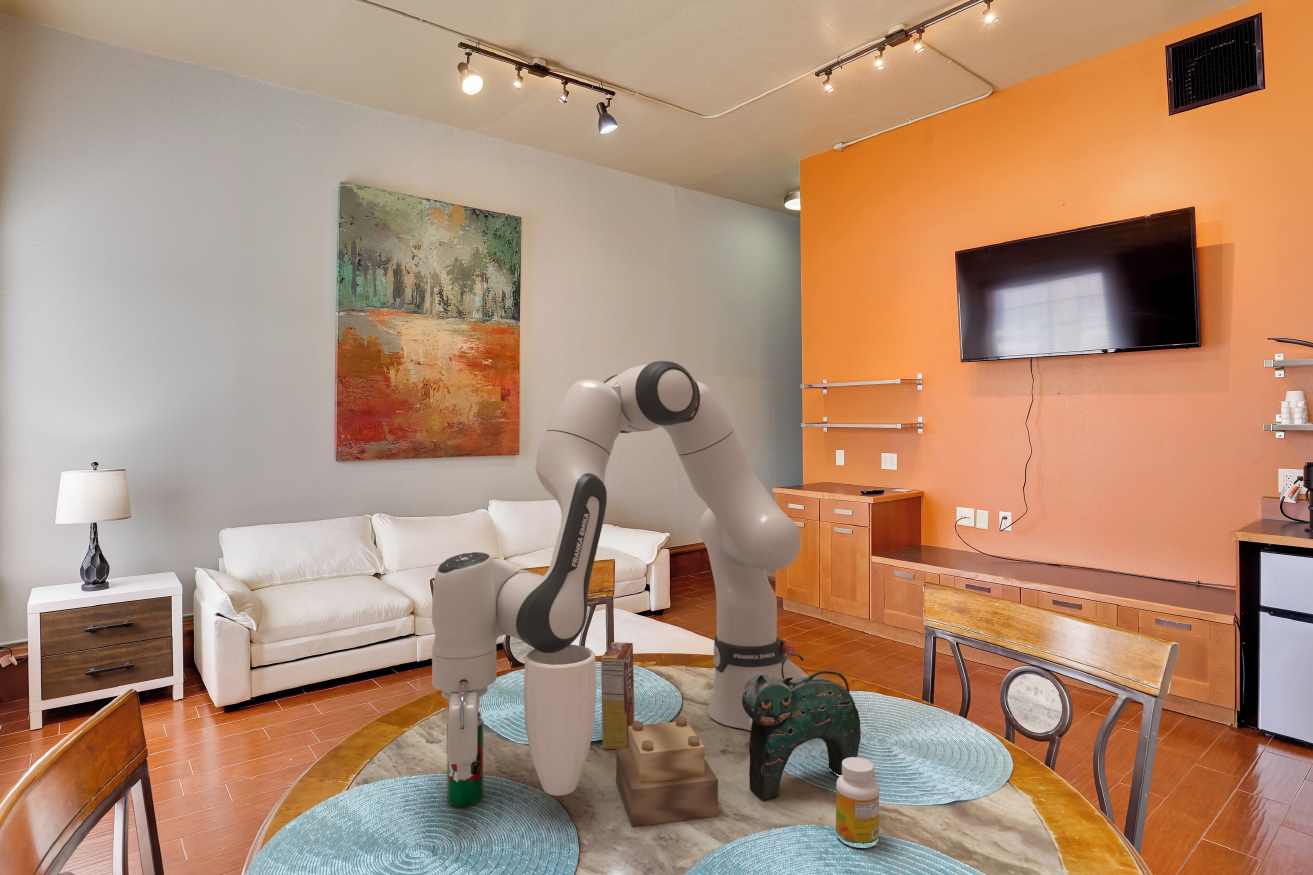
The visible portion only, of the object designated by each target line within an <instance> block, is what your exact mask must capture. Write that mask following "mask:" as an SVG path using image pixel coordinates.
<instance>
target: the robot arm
mask: <svg viewBox="0 0 1313 875" xmlns="http://www.w3.org/2000/svg"><path fill="white" fill-rule="evenodd" d="M657 428H663V429H664V430H665V431H666V433H667V434H668V435H669V437H670V439H671V441H672V443H673V446H674V449H675V451H676V454H677V456H678V458H679V460H680V462H681V464H682V467H683V468H684V471H685V473H686V475H687V477H688V479H689V482H690V484H691V487H692V489H693V490H694V492H695V494H696V495H697V496H698V497H699V498H700V499H701V500H702V501H703V502H704V503H705V504H706V505H707V507H708V508H707V509H706V510H705V511H704V513H703V514H702V515H701V518H700V520H699V527H698V528H699V535H700V537H701V540H702V541H703V543H704V545H705V548H706V550H707V554H708V559H709V563H710V569H711V571H712V576H713V581H714V588H715V596H716V634H715V636H714V643H713V644H714V645H713V664H714V668H715V670H714V678H713V686H712V692H711V696H710V701H709V705H708V707H707V710H706V711H707V712H706V713H707V715H708V716H709V717H710V718H711V719H712V720H713V721H715V722H716V723H719V724H722V725H725V726H727V727H731V728H736V729H743V730H746V731H750V732H751V726H752V719H751V718H750V717H749V715H748V714H747V713H746V712H745V710H744V708H743V704H742V696H743V690H744V687H745V685H746V683H747V682H748V681H749V680H750V679H752V678H753V677H755V676H757V675H768V676H771V677H774V678H777V679H783V678H782V673H781V667H782V661H783V659H784V657H786V656H787V655H788V654H791V653H796V652H797V649H796V646H795V645H793V643H791V642H788V641H787V642H786V641H785V640H784V639H781V638H780V637H778V636H777V634H778V633H777V629H778V626H777V624H778V623H777V621H778V620H777V618H778V617H777V616H778V613H777V612H778V611H777V610H778V608H777V607H778V605H777V604H778V603H777V602H778V601H777V600H778V599H777V595H776V593H775V591H774V589H773V587H772V585H771V584H770V581H769V578H768V575H767V571H775V570H783V569H786V568H787V567H789V566H790V565H791V564H793V563H794V561H795V560H796V559H797V557H798V555H799V553H800V551H801V548H802V547H801V546H802V537H801V531H800V529H799V527H798V525H797V524H796V522H795V521H794V520H793V519H791V517H789V516H788V515H787V514H786V513H785V512H784V511H783V510H782V509H781V508H780V506H779V505H778V504H777V502H776V501H775V499H774V498H773V497H772V495H771V494H770V493H769V491H768V490H767V488H766V487H765V486H764V485H763V483H762V481H761V480H760V479H759V477H758V475H757V474H756V473H755V471H754V469H753V467H752V466H751V464H750V462H749V460H748V458H747V456H746V454H745V451H744V450H743V448H742V445H741V443H740V440H739V438H738V436H737V434H736V431H735V430H734V427H733V425H732V423H731V421H730V419H729V417H728V414H727V413H726V411H725V410H724V408H723V406H722V404H721V403H720V401H719V399H718V398H717V396H716V395H715V393H714V392H713V391H712V389H711V388H710V387H709V386H708V385H706V383H703V382H700V381H695V379H694V378H693V376H692V375H691V373H690V372H689V371H688V370H687V369H686V368H685V367H683V366H682V365H680V364H679V363H677V362H674V361H669V360H668V361H667V360H658V361H657V360H656V361H653V362H650V363H647V364H646V363H645V364H639V365H636V366H633V367H631V368H627V369H626V370H625V371H623V372H620V373H619V374H615V375H612V376H610V377H608V378H606V379H605V380H604V381H601V380H600V381H599V380H597V379H580V380H578V381H576V382H574V383H573V384H571V385H570V387H568V390H567V391H566V393H565V394H564V395H563V396H562V399H561V400H560V402H559V403H558V406H557V407H556V409H555V411H554V413H553V414H552V417H551V419H550V420H549V423H548V426H547V428H546V430H545V433H544V436H543V437H542V440H541V443H540V445H539V448H538V451H537V454H536V461H535V471H536V474H537V475H536V476H537V477H538V480H539V482H540V483H541V485H542V486H543V488H544V490H546V491H547V492H548V493H549V494H550V496H552V497H553V498H554V500H556V502H557V503H558V506H559V508H560V513H561V518H560V519H561V521H560V527H559V530H558V533H557V538H556V542H555V545H554V548H553V552H552V557H551V560H550V563H549V564H550V565H549V567H548V570H547V572H546V573H545V574H544V575H542V574H538V573H536V572H532V571H530V570H525V569H523V568H522V569H521V568H516V567H515V566H514V567H513V566H510V565H507V564H505V563H503V562H500V561H498V560H496V559H494V558H493V557H491V555H490V554H488V553H486V552H479V551H475V552H474V551H473V552H468V553H467V552H464V553H459V554H457V555H454V556H451V557H449V558H447V559H445V560H444V561H443V562H442V563H441V564H439V566H438V568H437V570H436V572H435V576H434V579H433V580H434V581H433V589H432V602H431V622H432V626H433V629H434V641H433V644H432V648H431V663H432V664H431V666H432V668H431V673H432V674H431V680H432V681H431V684H432V686H433V687H434V688H435V689H437V690H439V691H441V696H442V698H444V699H446V700H447V701H449V703H448V704H449V705H448V713H447V715H448V716H447V724H448V761H449V763H450V764H457V778H458V779H460V780H461V779H468V778H470V776H471V762H474V761H475V760H476V758H477V742H478V712H480V711H479V709H480V708H479V706H480V701H481V700H480V699H481V697H482V696H485V695H486V693H487V692H488V687H489V686H490V685H493V684H494V683H495V682H496V681H497V640H498V638H499V637H501V636H505V635H506V636H510V637H512V638H515V639H516V640H520V641H522V642H523V643H525V644H527V645H528V646H530V647H532V648H533V649H536V650H538V651H540V652H543V653H555V652H558V651H561V650H563V649H565V648H566V647H568V646H569V645H570V644H571V645H572V643H573V642H575V640H577V638H578V637H579V636H580V634H581V632H582V631H583V629H584V627H585V624H586V621H587V615H588V602H589V601H588V600H589V587H590V582H591V578H592V577H591V576H592V573H593V568H594V564H595V558H596V555H597V551H598V547H599V542H600V538H601V533H602V529H603V525H604V519H605V515H606V509H607V503H608V500H607V499H608V493H607V488H606V485H605V476H606V472H607V467H608V464H609V461H610V458H611V454H612V452H613V449H614V446H615V442H616V440H617V438H618V436H619V435H620V434H629V433H637V432H639V433H641V432H649V431H652V430H655V429H657ZM783 674H784V678H787V677H793V679H792V680H795V679H798V678H803V677H809V676H810V675H808V674H807V673H806V672H805V671H803V669H802V668H800V667H799V666H798V665H796V664H795V663H794V662H793V661H791V660H789V658H788V659H787V660H786V661H785V663H784V666H783ZM792 680H791V681H792ZM464 727H465V728H464ZM460 728H461V729H460ZM463 728H464V729H463Z"/></svg>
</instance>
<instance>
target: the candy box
mask: <svg viewBox="0 0 1313 875" xmlns="http://www.w3.org/2000/svg"><path fill="white" fill-rule="evenodd" d="M600 664H601V665H600V666H601V667H600V668H601V673H600V674H601V725H602V726H601V728H602V733H601V734H602V735H601V736H602V738H601V739H602V749H606V750H618V749H627V748H628V726H632V723H633V722H635V719H636V718H635V683H634V675H635V674H634V643H633V642H619V641H618V642H617V641H615V642H611V643H610V645H609V646H608V648H607V650H606V651H605V653H604V654H603V655H602V657H601V658H600Z"/></svg>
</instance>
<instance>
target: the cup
mask: <svg viewBox="0 0 1313 875" xmlns="http://www.w3.org/2000/svg"><path fill="white" fill-rule="evenodd" d="M596 667H597V666H596V654H595V652H594V651H593V650H592V649H590V647H586V646H583V645H577V644H572V643H571V644H570V645H569V646H568V647H566V648H565V649H563V650H561V651H558V652H555V653H543V652H540V651H538V650H536V649H535V648H533V649H532V650H530V651H529V652H527V654H526V656H525V658H524V673H523V674H524V678H523V679H524V680H523V708H524V709H523V711H524V727H525V732H526V733H525V734H526V737H527V743H528V746H529V753H530V758H531V760H532V762H533V766H534V768H535V771H536V772H535V773H536V775H537V778H538V780H539V783H540V785H541V786H542V789H543V791H544V792H545V793H546V794H548V795H551V796H565V795H569V794H572V793H573V792H574V791H575V790H576V789H577V787H578V785H579V783H580V780H581V778H582V777H583V776H582V775H583V773H584V770H585V766H586V764H587V760H588V757H589V751H590V747H591V743H592V737H593V732H594V728H595V722H596V721H595V720H596V704H597V703H596V702H597V701H596V699H597V674H596V672H597V670H596Z"/></svg>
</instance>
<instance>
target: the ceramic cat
mask: <svg viewBox="0 0 1313 875" xmlns="http://www.w3.org/2000/svg"><path fill="white" fill-rule="evenodd" d="M785 656H786V657H784V659H783V661H782V667H781V673H782V678H783V679H777V678H774V677H771V676H768V675H757V676H755V677H753V678H752V679H750V680H749V681H748V682H747V683H746V685H745V687H744V690H743V696H742V704H743V708H744V710H745V712H746V713H747V714H748V715H749V717H750V718H751V719H752V726H751V731H750V736H749V745H748V746H749V747H748V751H749V772H748V776H749V790H750V791H751V793H752V794H754V796H756V797H757V798H758V799H759V800H761V801H762V802H764V801H765V802H766V801H768V800H773V799H777V798H778V797H779V793H780V787H781V781H782V776H783V772H784V770H785V767H786V765H787V764H788V761H789V758H790V757H791V754H792V753H793V752H794V750H795V749H796V748H797V747H799V746H801V745H803V744H804V743H807V742H809V741H811V740H815V739H820V740H822V741H823V742H824V743H825V746H826V752H827V758H828V767H829V768H830V769H831V770H832V771H833V772H835V773H836V774H838V775H842V761H843V760H844V759H846V758H850V757H858V754H859V749H860V743H861V737H862V736H861V719H860V715H859V714H860V713H859V711H858V709H857V706H856V703H855V701H854V698H853V696H852V694H851V693H850V692H851V691H850V687H849V684H848V680H847V679H846V677H845V676H844V675H843V674H842V673H841V672H838V671H835V670H820V671H817V672H815V673H813V674H810V675H808V676H809V677H803V678H798V679H795V680H792V679H793V677H787V678H784V674H783V666H784V663H785V661H786V660H787V659H788V660H789V658H790V657H791V658H792V657H798V658H799V659H800V660H801V662H803V661H804V660H805V659H804V656H802V655H801V654H800V653H796V652H795V653H791V654H788V655H787V654H786V655H785ZM822 674H824V675H825V674H827V675H828V674H829V675H835V676H838V677H839V678H841V680H842V681H843V682H844V683H845V687H846V688H845V687H844V686H842V685H841V684H839V683H837V682H835V681H833V680H831V679H829V678H827V677H824V676H818V675H822ZM791 680H792V681H791ZM829 768H828V769H829Z"/></svg>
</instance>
